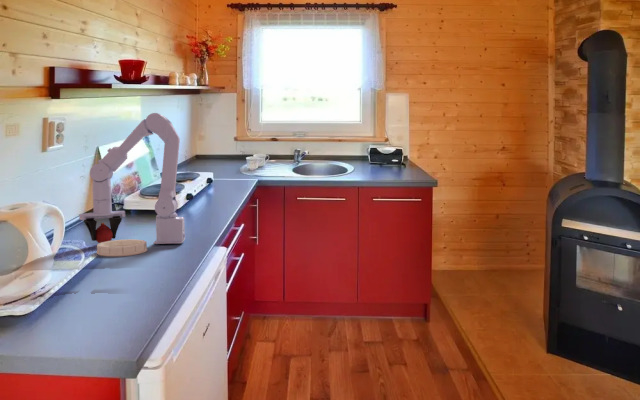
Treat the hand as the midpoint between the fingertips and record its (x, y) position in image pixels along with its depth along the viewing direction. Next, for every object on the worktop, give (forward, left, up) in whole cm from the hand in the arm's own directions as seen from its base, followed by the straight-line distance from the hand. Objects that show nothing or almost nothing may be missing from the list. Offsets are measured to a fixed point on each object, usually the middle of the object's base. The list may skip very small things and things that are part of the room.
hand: (103, 239), depth 165 cm
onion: (0, 0, -2) cm, 2 cm away
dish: (-9, +12, -2) cm, 15 cm away
